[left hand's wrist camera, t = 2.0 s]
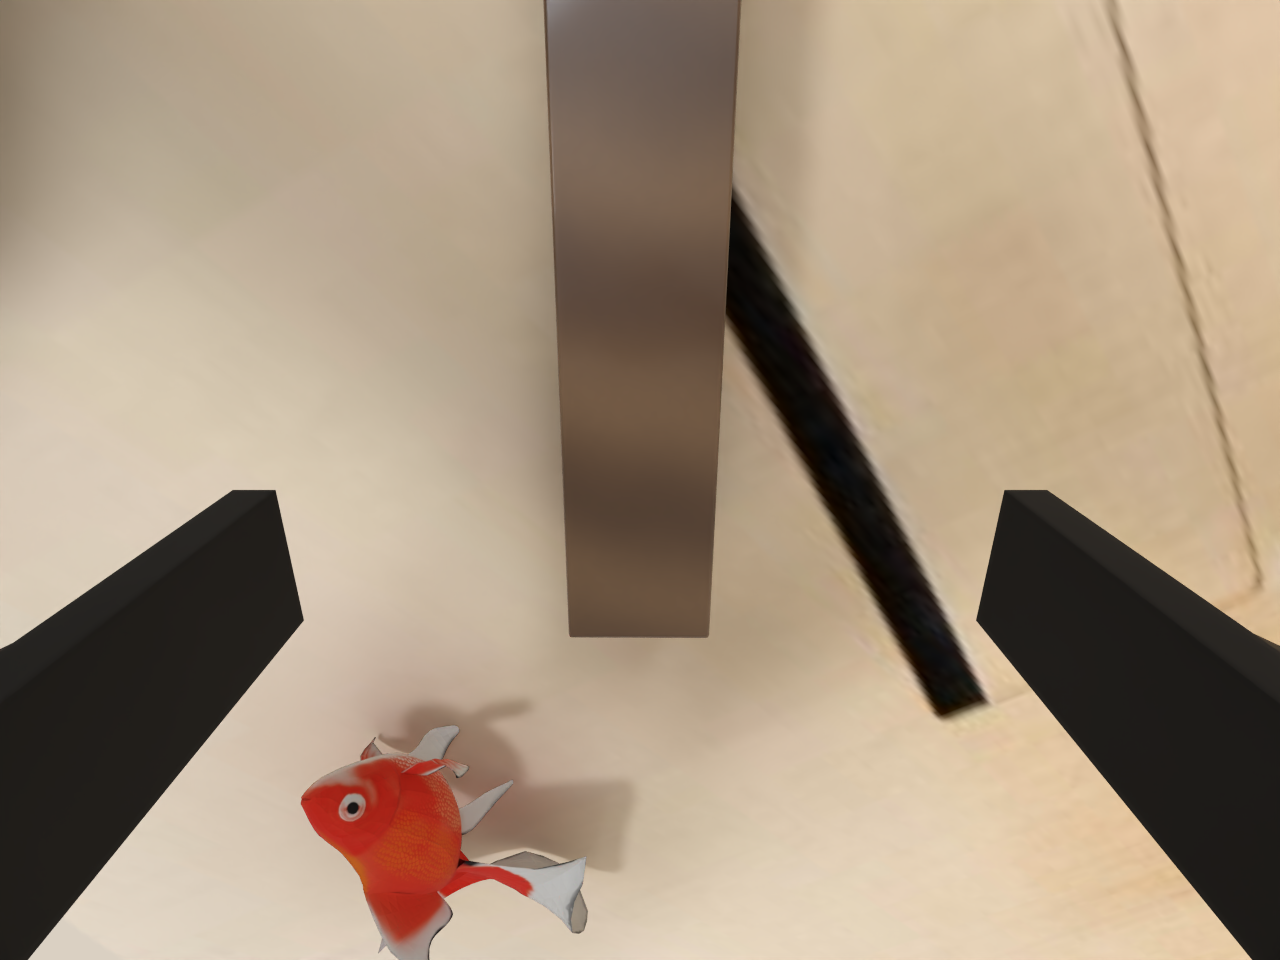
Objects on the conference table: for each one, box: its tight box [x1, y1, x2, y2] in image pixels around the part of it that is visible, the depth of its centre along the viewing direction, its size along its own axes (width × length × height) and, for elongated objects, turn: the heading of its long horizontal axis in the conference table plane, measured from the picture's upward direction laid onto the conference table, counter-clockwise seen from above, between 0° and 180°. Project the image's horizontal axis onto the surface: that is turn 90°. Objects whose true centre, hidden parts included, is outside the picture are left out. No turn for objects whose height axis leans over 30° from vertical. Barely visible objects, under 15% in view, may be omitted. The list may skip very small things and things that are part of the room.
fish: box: [301, 725, 588, 960], centre depth 31 cm, size 11×16×10 cm
